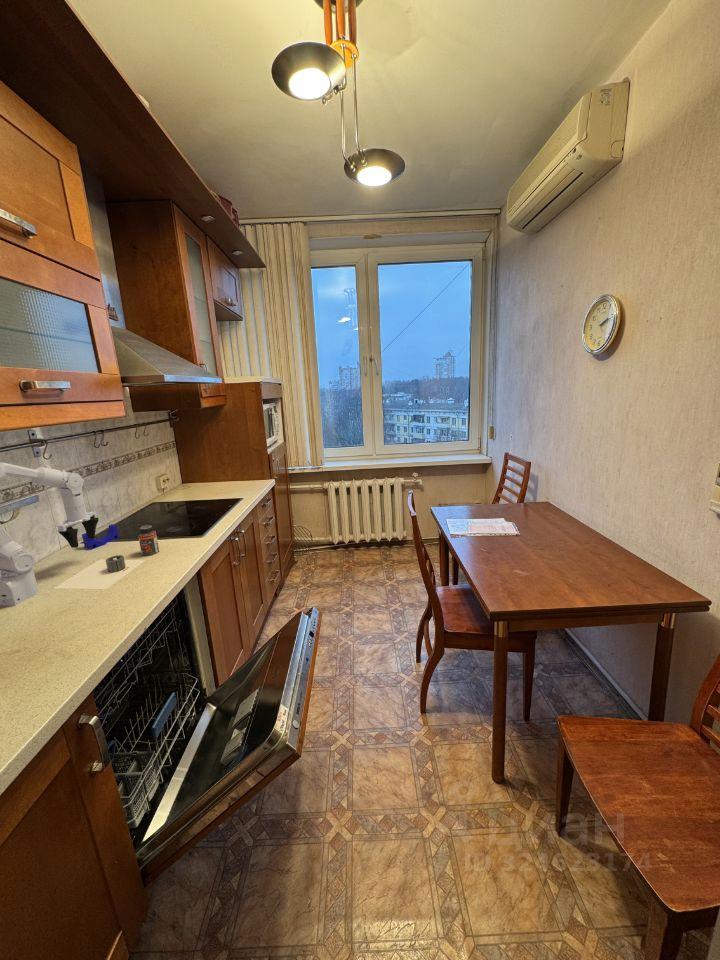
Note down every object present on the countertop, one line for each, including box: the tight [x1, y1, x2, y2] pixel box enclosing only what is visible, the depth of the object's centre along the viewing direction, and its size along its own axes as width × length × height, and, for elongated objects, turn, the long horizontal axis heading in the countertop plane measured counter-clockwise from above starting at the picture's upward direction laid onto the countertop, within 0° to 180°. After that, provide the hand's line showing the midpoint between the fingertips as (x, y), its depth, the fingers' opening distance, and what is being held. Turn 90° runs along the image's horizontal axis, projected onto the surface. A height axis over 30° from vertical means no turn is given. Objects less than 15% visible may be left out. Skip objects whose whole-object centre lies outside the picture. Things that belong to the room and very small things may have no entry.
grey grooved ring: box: [105, 554, 126, 573], centre depth 131 cm, size 5×5×4 cm
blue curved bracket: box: [81, 523, 120, 551], centre depth 156 cm, size 12×4×6 cm, turn 153°
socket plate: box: [53, 558, 146, 590], centre depth 129 cm, size 20×18×5 cm
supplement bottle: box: [138, 525, 160, 557], centre depth 143 cm, size 6×6×11 cm
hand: (83, 542), depth 134 cm, fingers open, 7 cm apart
